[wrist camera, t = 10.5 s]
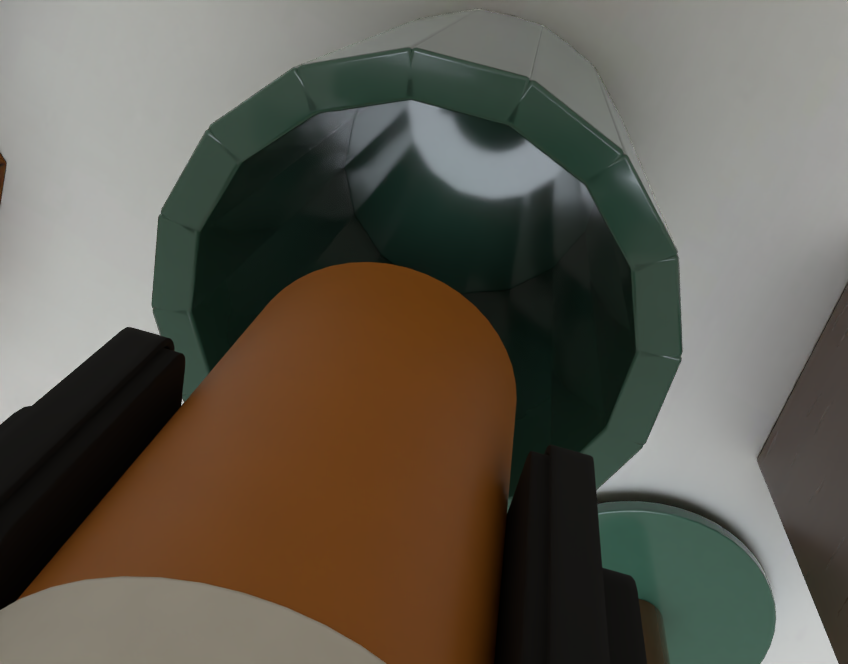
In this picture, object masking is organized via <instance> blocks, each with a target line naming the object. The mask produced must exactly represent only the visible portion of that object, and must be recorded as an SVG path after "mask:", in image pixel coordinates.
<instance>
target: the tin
mask: <svg viewBox="0 0 848 664" xmlns="http://www.w3.org/2000/svg"><path fill="white" fill-rule="evenodd" d="M677 253H678V251H677V248H676V246H675V243H674V241H673V239H672V236H671V234H670V232H669V229H668V227H667V224H666V222H665V220H664V217H663V215H662V213H661V210H660V208H659V205H658V203H657V201H656V198H655V196H654V194H653V191H652V189H651V186H650V184H649V182H648V179H647V177H646V175H645V172H644V170H643V167H642V165H641V163H640V160H639V158H638V156H637V153H636V151H635V149H634V146H633V144H632V141H631V139H630V137H629V134H628V132H627V130H626V127H625V125H624V122H623V120H622V118H621V116H620V114H619V112H618V111H617V109H616V107H615V105H614V103H613V101H612V99H611V97H610V95H609V92H608V91H607V89H606V87H605V85H604V83H603V81H602V79H601V77H600V75H599V74H598V72H597V70H596V68H595V67H593V65H592V63H590V62H589V61H588V60H587V59H585V58H584V57H583V56H582V55H580V54H579V53H578V52H577V51H576V50H575V49H574V48H573V47H572V46H571V45H570V44H569V43H567V42H566V41H564V40H563V39H561V38H560V37H558V36H557V35H556V34H554V33H553V32H552V31H551V30H549V29H548V28H547V27H545V26H542V24H539V23H535V22H531V21H528V20H525V19H522V18H519V17H516V16H513V15H508V14H502V13H497V12H493V11H489V10H485V9H471V10H466V11H460V12H452V13H446V14H442V15H437V16H431V17H425V18H419V19H416V20H414V21H411V22H408V23H406V24H403V25H401V26H398V27H396V28H393V29H390V30H388V31H385V32H383V33H380V34H378V35H375V36H372V37H370V38H367V39H365V40H362V41H360V42H357V43H354V44H352V45H349V46H347V47H344V48H342V49H339V50H336V51H334V52H331V53H329V54H326V55H324V56H321V57H319V58H316V59H313V60H311V61H308V62H306V63H303V64H301V65H298V66H295V67H293V68H292V69H290V70H289V71H287V72H286V73H284V74H283V75H281V76H280V77H278V78H277V79H276V80H274V81H273V82H271V83H270V84H268V85H267V86H265V87H264V88H263V89H261V90H260V91H258V92H257V93H255V94H254V95H252V96H251V97H250V98H248V99H247V100H245V101H244V102H242V103H241V104H239V105H238V106H237V107H235V108H234V109H232V110H231V111H229V112H228V113H226V114H225V115H224V116H222V117H221V118H219V119H218V120H216V121H215V122H213V123H212V124H211V125H210V126H209V129H208V130H206V131H205V133H204V135H203V136H202V138H201V140H200V142H199V143H198V145H197V147H196V149H195V151H194V152H193V154H192V156H191V158H190V159H189V161H188V163H187V165H186V167H185V168H184V170H183V172H182V174H181V175H180V177H179V179H178V181H177V182H176V184H175V186H174V188H173V190H172V191H171V193H170V195H169V197H168V198H167V200H166V202H165V204H164V206H163V207H162V210H161V214H160V215H159V217H158V229H157V242H156V255H155V268H154V281H153V293H152V308H153V314H154V317H155V320H156V324H157V327H158V330H159V333H160V336H164V337H167V338H171V339H172V341H173V343H174V347H175V350H174V351H176V352H179V353H183V354H184V356H185V374H184V383H183V393H182V399H183V400H184V402H185V401H186V400H187V399H188V398H189V396H190V395H191V394H192V393H193V392H194V390H195V389H196V388H197V387H198V386H199V385H200V383H201V382H202V381H203V380H204V379H205V378H206V376H207V375H208V374H209V373H210V372H211V370H212V369H213V368H214V367H215V366H216V365H217V363H218V362H219V361H220V360H221V359H222V357H223V356H224V355H225V354H226V353H227V352H228V350H229V349H230V348H231V347H232V346H233V345H234V343H235V342H236V341H237V340H238V339H239V337H240V336H241V335H242V334H243V333H244V332H245V330H246V329H247V328H248V327H249V326H250V324H251V323H252V322H253V321H254V320H255V319H256V317H257V316H258V315H259V314H260V313H261V312H262V310H263V309H264V308H265V307H266V306H267V304H268V303H269V302H270V301H271V300H272V299H273V298H274V297H275V296H276V295H277V294H278V293H279V292H281V291H282V290H283V289H284V288H285V287H287V286H288V285H290V284H291V283H293V282H294V281H296V280H297V279H299V278H301V277H303V276H305V275H307V274H309V273H312V272H314V271H317V270H320V269H323V268H326V267H329V266H334V265H339V264H345V263H355V262H375V263H387V264H392V265H397V266H402V267H407V268H410V269H413V270H415V271H418V272H421V273H424V274H427V275H429V276H431V277H433V278H435V279H437V280H439V281H441V282H443V283H445V284H446V285H448V286H449V287H451V288H453V289H454V290H456V291H457V292H459V293H460V294H461V295H463V296H464V297H465V298H466V299H467V300H469V301H470V302H471V303H472V304H473V305H474V306H475V307H476V308H477V309H478V310H479V311H480V312H481V313H482V314H483V315H484V316H485V317H486V318H487V320H488V321H489V322H490V324H491V325H492V327H493V328H494V329H495V331H496V332H497V334H498V335H499V337H500V339H501V341H502V343H503V345H504V347H505V348H506V351H507V353H508V356H509V359H510V361H511V364H512V367H513V372H514V377H515V382H516V396H517V402H516V413H515V425H514V437H513V448H512V460H511V472H510V484H509V495H508V507H507V513H508V510H509V507H510V504H511V501H512V498H513V496H514V493H515V490H516V487H517V484H518V481H519V478H520V476H521V473H522V470H523V467H524V464H525V461H526V459H527V456H528V454H529V452H530V451H534V452H537V453H541V454H544V453H545V451H546V449H547V447H548V446H549V445H550V444H551V445H555V446H558V447H562V448H565V449H569V450H573V451H576V452H580V453H583V454H587V455H590V456H592V457H593V460H594V469H595V482H596V490H597V489H598V488H599V487H600V486H601V485H602V484H604V483H605V482H606V481H607V480H608V479H609V478H610V477H611V476H612V475H613V474H614V473H616V472H617V471H618V470H619V469H620V468H621V467H622V466H623V465H624V464H625V463H626V462H627V461H629V460H630V459H631V458H632V457H633V456H634V455H635V454H636V453H637V452H638V451H639V450H640V449H642V447H643V445H644V444H645V443H646V441H647V439H648V437H649V434H650V432H651V430H652V427H653V425H654V423H655V420H656V418H657V416H658V414H659V411H660V409H661V407H662V404H663V402H664V400H665V397H666V395H667V393H668V390H669V388H670V386H671V383H672V381H673V379H674V376H675V374H676V372H677V369H678V367H679V365H680V363H681V354H682V352H683V351H682V324H681V297H680V270H679V257H678V254H677Z"/></svg>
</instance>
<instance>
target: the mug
mask: <svg viewBox="0 0 848 664" xmlns="http://www.w3.org/2000/svg"><path fill="white" fill-rule="evenodd" d="M5 168H6V162H5V160H4V159H3V157H2V155H1V154H0V202H1V195H2V188H3V182H4V175H5Z"/></svg>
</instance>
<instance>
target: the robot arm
mask: <svg viewBox="0 0 848 664" xmlns="http://www.w3.org/2000/svg"><path fill="white" fill-rule="evenodd" d="M174 350H175V347H174V343H173V341H172V339H171V338H167V337H164V336H160V335H157V334H153V333H149V332H146V331H142V330H139V329H135V328H131V327H127V328H125V329H123V330H122V331H120V332H119V333H118V334H117V335H116V336H114V337H113V338H112V339H111V340H110V341H108V342H107V343H106V344H105V345H104V346H103V347H101V348H100V349H99V350H98V351H97V352H95V353H94V354H93V355H92V356H91V357H89V358H88V359H87V360H86V361H85V362H83V363H82V364H81V365H80V366H79V367H78V368H76V369H75V370H74V371H73V372H72V373H70V374H69V375H68V376H67V377H66V378H64V379H63V380H62V381H61V382H60V383H59V384H57V385H56V386H55V387H54V388H53V389H51V390H50V391H49V392H48V393H47V394H45V395H44V396H43V397H42V398H41V399H39V400H38V401H37V402H36V403H35V404H34V405H32V406H28V407H24V408H22V409H20V410H19V411H17V412H15V413H14V414H13V415H11V416H10V417H9V418H8V419H7V420H5V421H4V422H3V423H2V424H1V425H0V610H1V609H3V608H5V607H7V606H8V605H10V604H12V603H14V602H15V601H16V600H17V599H18V598H19V597H20V596H21V594H22V593H23V592H24V591H25V590H26V588H27V587H28V586H29V585H30V584H31V583H32V581H33V580H34V579H35V578H36V577H37V576H38V574H39V573H40V572H41V571H42V570H43V568H44V567H45V566H46V565H47V564H48V563H49V561H50V560H51V559H52V558H53V557H54V555H55V554H56V553H57V552H58V551H59V550H60V548H61V547H62V546H63V545H64V544H65V543H66V541H67V540H68V539H69V538H70V537H71V535H72V534H73V533H74V532H75V531H76V530H77V528H78V527H79V526H80V525H81V524H82V522H83V521H84V520H85V519H86V518H87V517H88V515H89V514H90V513H91V512H92V511H93V510H94V508H95V507H96V506H97V505H98V504H99V502H100V501H101V500H102V499H103V498H104V497H105V495H106V494H107V493H108V492H109V491H110V489H111V488H112V487H113V486H114V485H115V484H116V482H117V481H118V480H119V479H120V478H121V477H122V475H123V474H124V473H125V472H126V471H127V469H128V468H129V467H130V466H131V465H132V464H133V462H134V461H135V460H136V459H137V458H138V456H139V455H140V454H141V453H142V452H143V451H144V449H145V448H146V447H147V446H148V445H149V444H150V442H151V441H152V440H153V439H154V438H155V436H156V435H157V434H158V433H159V432H160V431H161V429H162V428H163V427H164V426H165V425H166V423H167V422H168V421H169V420H170V419H171V418H172V416H173V415H174V414H175V413H176V412H177V411H178V409H179V408H180V407H181V402H182V393H183V383H184V374H185V356H184V354H183V353H179V352H176V351H174ZM494 664H647V658H646V651H645V643H644V636H643V628H642V621H641V613H640V606H639V598H638V591H637V587H636V583H635V580H634V579H633V578H632V576H630V575H627V574H623V573H620V572H616V571H613V570H609V569H606V568H602V557H601V544H600V532H599V519H598V507H597V494H596V482H595V469H594V460H593V457H592V456H590V455H587V454H583V453H580V452H576V451H573V450H569V449H565V448H562V447H558V446H555V445H551V444H550V445H549V446H548V447H547V449H546V451H545V453H544V454H541V453H537V452H534V451H530V452H529V454H528V456H527V459H526V461H525V464H524V467H523V470H522V473H521V476H520V478H519V481H518V484H517V487H516V490H515V493H514V496H513V498H512V501H511V504H510V507H509V510H508V513H507V519H506V531H505V542H504V554H503V566H502V578H501V589H500V601H499V613H498V624H497V636H496V648H495V660H494Z"/></svg>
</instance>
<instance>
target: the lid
mask: <svg viewBox="0 0 848 664" xmlns="http://www.w3.org/2000/svg"><path fill="white" fill-rule="evenodd" d="M597 507H598V519H599V532H600V544H601V557H602V568H606V569H609V570H613V571H616V572H620V573H623V574H627V575H630V576H632V578H633V579H634V580H635V583H636V587H637V591H638V598H639V606H640V613H641V621H642V628H643V636H644V643H645V651H646V658H647V664H760V663H761V662H762V661H763V659H764V658H765V656H766V654H767V652H768V650H769V648H770V645H771V642H772V639H773V635H774V632H775V623H776V611H775V602H774V598H773V594H772V590H771V587H770V584H769V582H768V579H767V577H766V575H765V573H764V571H763V568H762V567H761V565H760V564H759V562H758V561H757V559H756V558H755V556H754V555H753V554H752V552H751V551H750V550H749V549H748V548H747V547H746V546H745V545H744V544H743V543H742V542H741V541H740V540H739V539H738V538H736V537H735V536H734V535H733V534H731V533H730V532H729V531H728V530H726V529H724V528H723V527H721V526H720V525H718V524H717V523H715V522H713V521H711V520H709V519H707V518H705V517H703V516H701V515H698V514H696V513H693V512H690V511H687V510H684V509H682V508H678V507H674V506H669V505H665V504H661V503H652V502H643V501H617V502H606V503H600V504H597Z"/></svg>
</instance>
